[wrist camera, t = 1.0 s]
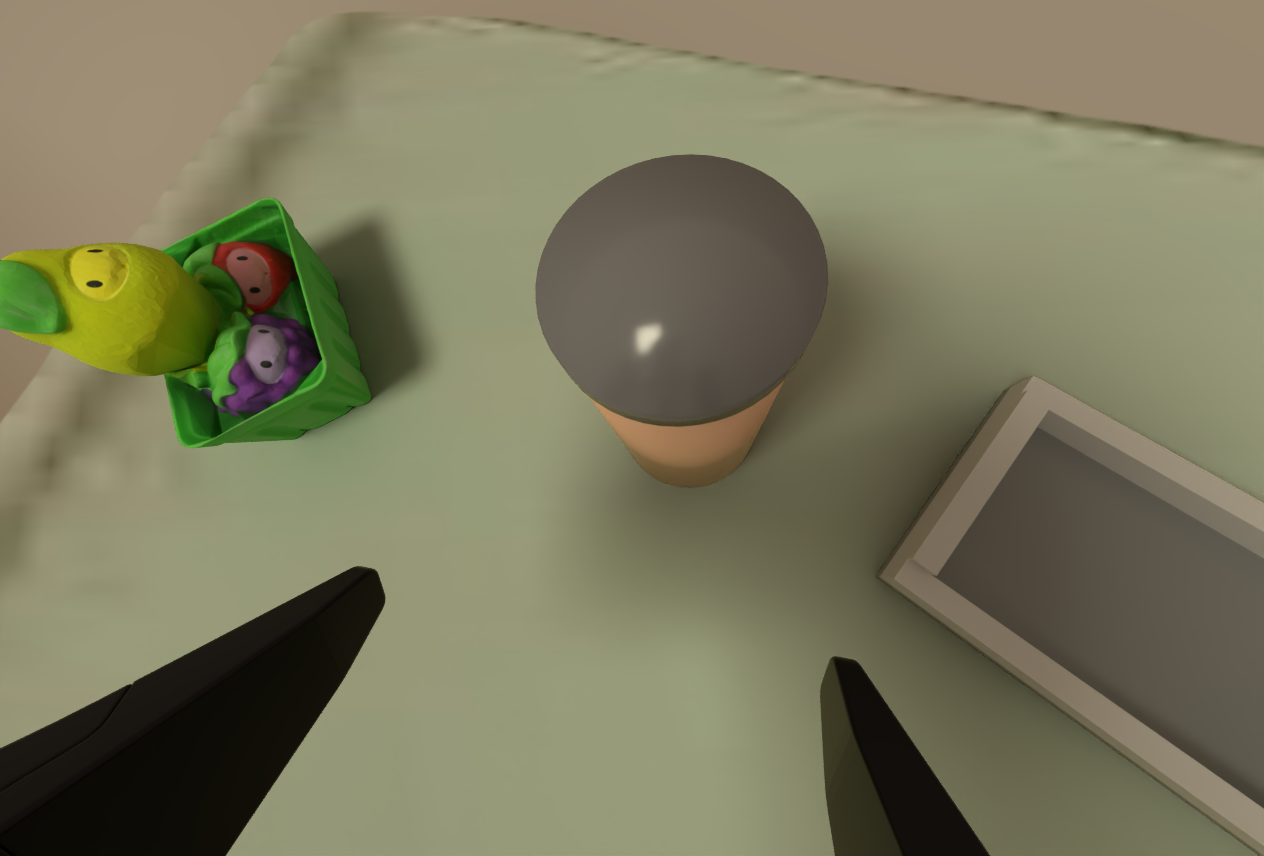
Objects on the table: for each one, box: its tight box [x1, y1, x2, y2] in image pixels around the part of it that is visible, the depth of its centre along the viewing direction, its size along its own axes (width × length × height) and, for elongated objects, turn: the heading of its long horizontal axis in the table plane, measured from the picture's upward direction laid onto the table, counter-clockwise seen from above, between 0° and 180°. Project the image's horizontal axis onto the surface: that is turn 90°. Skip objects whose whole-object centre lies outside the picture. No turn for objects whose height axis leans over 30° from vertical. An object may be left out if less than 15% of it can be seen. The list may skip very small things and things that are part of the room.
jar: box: [536, 155, 828, 488], centre depth 17 cm, size 7×7×13 cm
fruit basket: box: [0, 198, 371, 448], centre depth 22 cm, size 11×9×11 cm
